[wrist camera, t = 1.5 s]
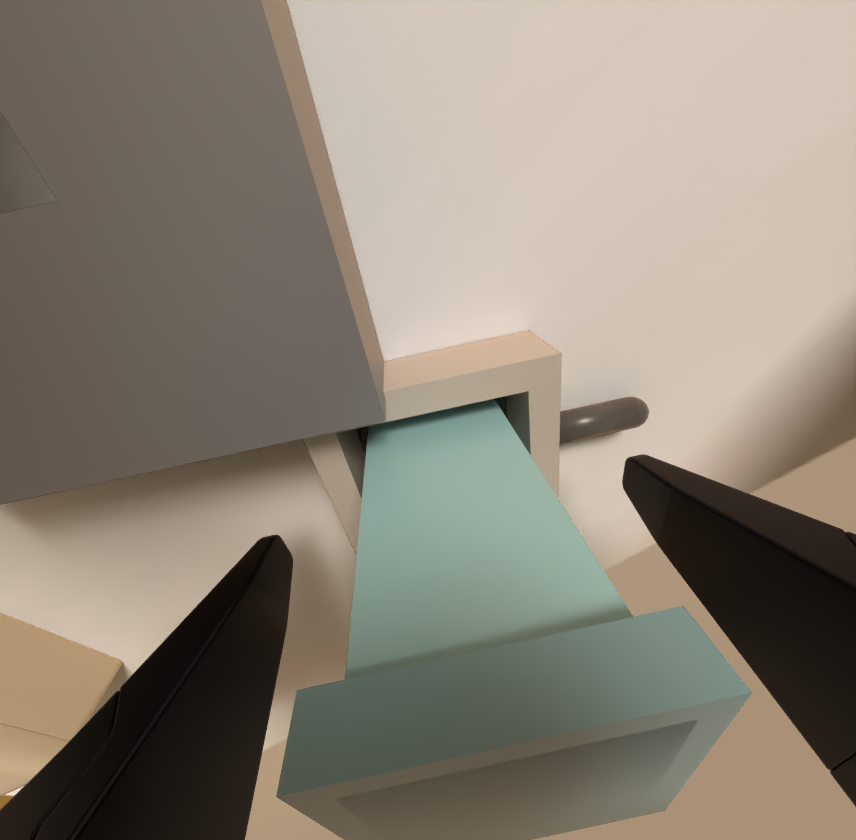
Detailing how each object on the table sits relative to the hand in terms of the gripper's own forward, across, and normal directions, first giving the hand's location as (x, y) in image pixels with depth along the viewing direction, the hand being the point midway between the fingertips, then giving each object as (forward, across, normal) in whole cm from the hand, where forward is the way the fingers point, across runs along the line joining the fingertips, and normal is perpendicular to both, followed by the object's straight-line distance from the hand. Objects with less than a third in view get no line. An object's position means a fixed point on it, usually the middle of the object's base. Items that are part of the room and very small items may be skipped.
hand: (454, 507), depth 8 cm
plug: (+3, 0, 0) cm, 3 cm away
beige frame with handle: (+3, -2, 0) cm, 3 cm away
